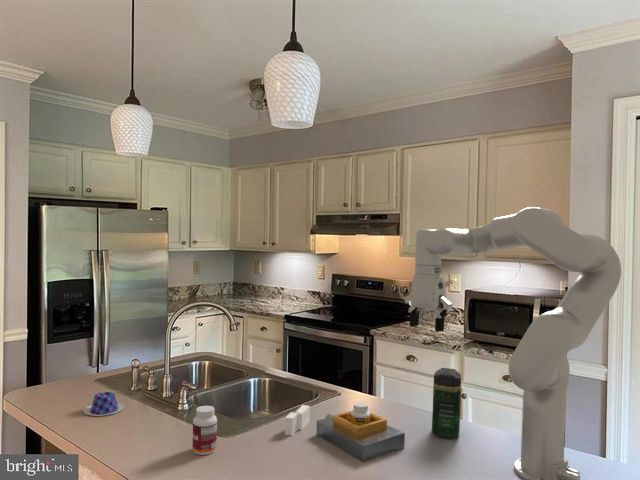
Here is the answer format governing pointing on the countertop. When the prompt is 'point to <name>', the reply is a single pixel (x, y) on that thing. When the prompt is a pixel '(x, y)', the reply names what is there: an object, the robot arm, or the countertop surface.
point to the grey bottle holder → (360, 436)
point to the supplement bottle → (360, 414)
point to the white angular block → (297, 420)
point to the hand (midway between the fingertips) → (426, 328)
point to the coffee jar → (446, 403)
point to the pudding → (104, 404)
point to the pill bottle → (204, 431)
